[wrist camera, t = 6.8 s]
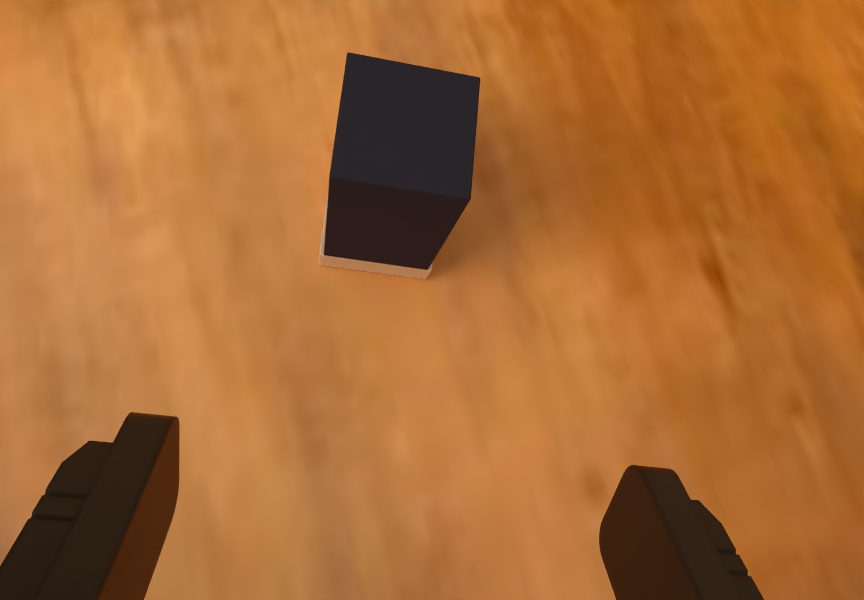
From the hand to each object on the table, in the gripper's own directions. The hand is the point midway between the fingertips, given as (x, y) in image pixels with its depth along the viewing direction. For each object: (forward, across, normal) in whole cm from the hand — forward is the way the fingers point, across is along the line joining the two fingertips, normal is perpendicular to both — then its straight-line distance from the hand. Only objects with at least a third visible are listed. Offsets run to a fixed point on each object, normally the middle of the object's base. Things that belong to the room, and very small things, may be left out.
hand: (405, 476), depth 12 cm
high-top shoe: (+21, 0, +2) cm, 21 cm away
